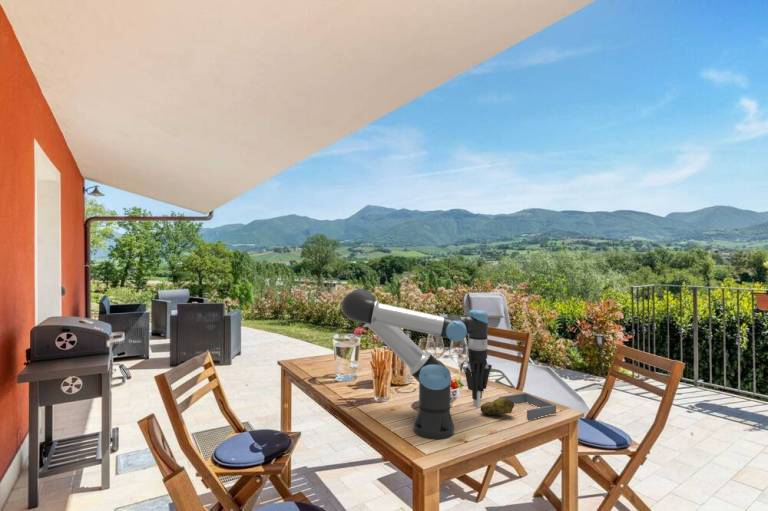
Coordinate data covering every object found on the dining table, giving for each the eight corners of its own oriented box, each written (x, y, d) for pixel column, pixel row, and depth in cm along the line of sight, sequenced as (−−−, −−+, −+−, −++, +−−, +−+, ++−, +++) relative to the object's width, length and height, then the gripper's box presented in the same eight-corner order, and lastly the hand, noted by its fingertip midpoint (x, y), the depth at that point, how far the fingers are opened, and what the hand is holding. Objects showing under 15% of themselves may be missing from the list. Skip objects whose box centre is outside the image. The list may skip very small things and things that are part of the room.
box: (528, 420, 173) (528, 410, 173) (498, 405, 189) (499, 396, 189) (555, 414, 180) (556, 405, 180) (525, 401, 196) (525, 392, 196)
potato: (486, 409, 184) (486, 390, 184) (515, 416, 177) (516, 397, 177) (478, 415, 178) (479, 395, 178) (508, 422, 170) (509, 402, 170)
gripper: (470, 352, 166) (469, 412, 166) (496, 349, 172) (495, 407, 172) (459, 348, 173) (458, 406, 173) (484, 345, 179) (483, 401, 179)
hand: (476, 406), depth 172 cm, fingers closed
